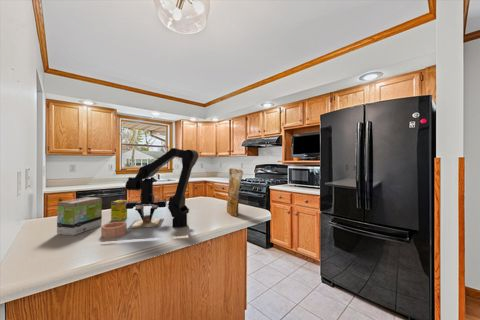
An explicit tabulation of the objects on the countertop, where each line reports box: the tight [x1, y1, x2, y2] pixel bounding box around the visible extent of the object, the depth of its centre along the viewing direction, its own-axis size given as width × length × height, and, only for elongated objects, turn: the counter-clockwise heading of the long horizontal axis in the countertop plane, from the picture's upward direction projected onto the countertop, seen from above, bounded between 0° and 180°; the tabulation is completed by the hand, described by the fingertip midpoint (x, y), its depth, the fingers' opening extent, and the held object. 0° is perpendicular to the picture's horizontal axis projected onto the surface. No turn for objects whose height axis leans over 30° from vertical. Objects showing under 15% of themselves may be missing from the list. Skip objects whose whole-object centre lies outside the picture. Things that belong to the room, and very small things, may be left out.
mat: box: [127, 218, 165, 230], centre depth 110 cm, size 15×15×1 cm
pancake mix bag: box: [226, 168, 244, 217], centre depth 135 cm, size 7×19×28 cm, turn 20°
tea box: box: [56, 196, 103, 236], centre depth 104 cm, size 15×10×15 cm, turn 168°
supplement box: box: [110, 199, 128, 221], centre depth 119 cm, size 6×6×11 cm
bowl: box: [100, 221, 128, 239], centre depth 95 cm, size 9×9×5 cm
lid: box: [131, 214, 162, 228], centre depth 110 cm, size 12×12×4 cm
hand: (147, 221), depth 110 cm, fingers closed on lid, 3 cm apart
